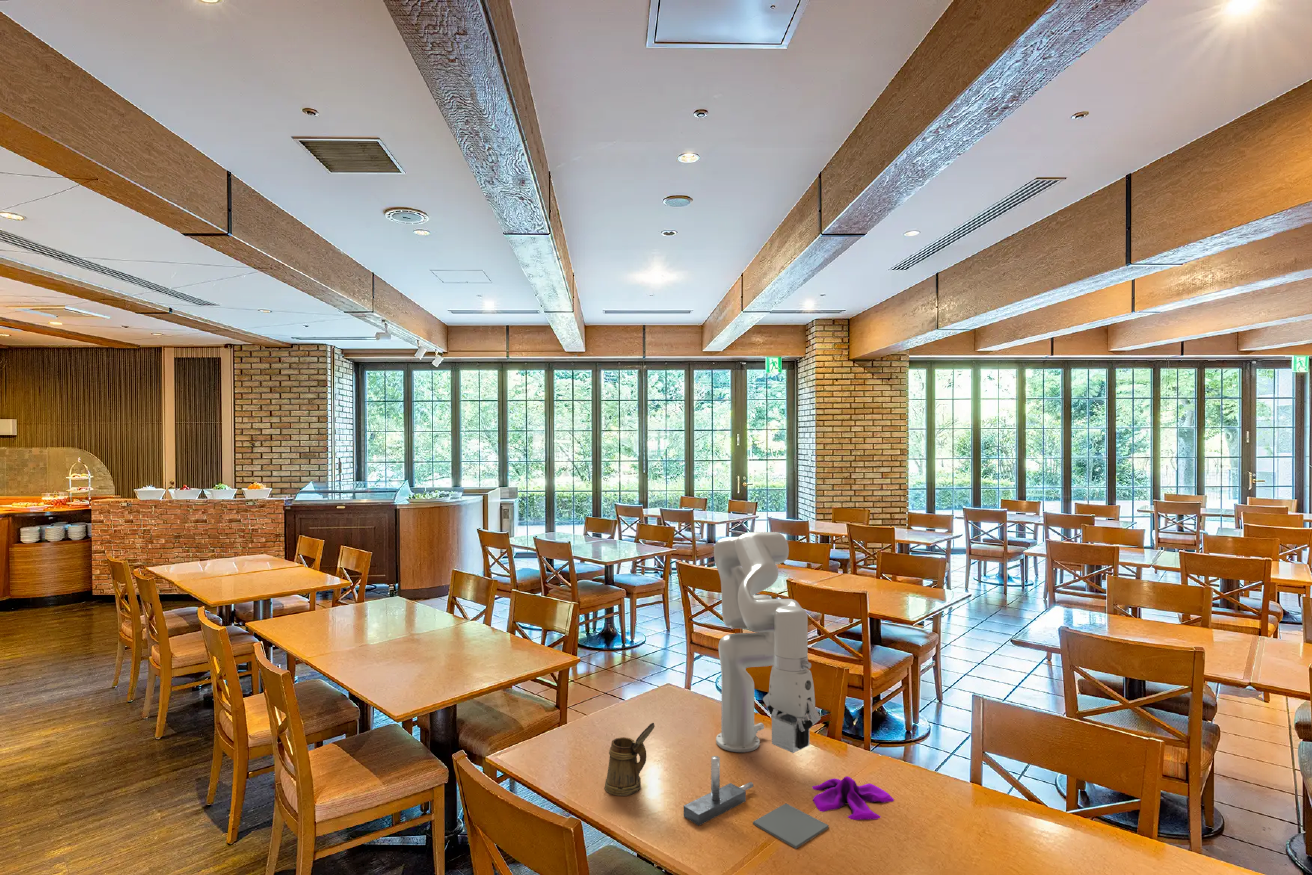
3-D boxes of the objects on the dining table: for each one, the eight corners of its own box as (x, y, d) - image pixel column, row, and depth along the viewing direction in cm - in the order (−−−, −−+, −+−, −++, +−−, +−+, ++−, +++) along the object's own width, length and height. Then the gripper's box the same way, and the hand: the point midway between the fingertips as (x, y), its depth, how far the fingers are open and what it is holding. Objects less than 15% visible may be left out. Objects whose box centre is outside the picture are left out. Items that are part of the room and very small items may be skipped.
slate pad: (786, 805, 155) (786, 802, 155) (828, 827, 146) (828, 824, 146) (753, 824, 147) (753, 821, 147) (795, 848, 138) (795, 845, 138)
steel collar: (788, 736, 151) (788, 710, 152) (809, 745, 147) (809, 718, 147) (771, 743, 147) (771, 717, 148) (793, 753, 143) (793, 725, 143)
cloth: (896, 792, 162) (896, 768, 163) (887, 831, 146) (887, 803, 146) (807, 772, 172) (807, 749, 173) (789, 806, 156) (789, 780, 156)
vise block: (744, 786, 164) (744, 738, 164) (759, 794, 160) (759, 745, 161) (683, 816, 150) (683, 764, 151) (698, 825, 147) (698, 772, 147)
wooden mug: (643, 805, 155) (644, 729, 156) (597, 789, 162) (598, 717, 162) (662, 788, 163) (662, 716, 163) (617, 774, 170) (618, 705, 170)
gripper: (832, 668, 144) (832, 750, 143) (771, 649, 157) (771, 725, 156) (812, 675, 139) (812, 760, 138) (751, 656, 152) (750, 733, 151)
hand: (790, 740), depth 147 cm, fingers closed on steel collar, 6 cm apart
